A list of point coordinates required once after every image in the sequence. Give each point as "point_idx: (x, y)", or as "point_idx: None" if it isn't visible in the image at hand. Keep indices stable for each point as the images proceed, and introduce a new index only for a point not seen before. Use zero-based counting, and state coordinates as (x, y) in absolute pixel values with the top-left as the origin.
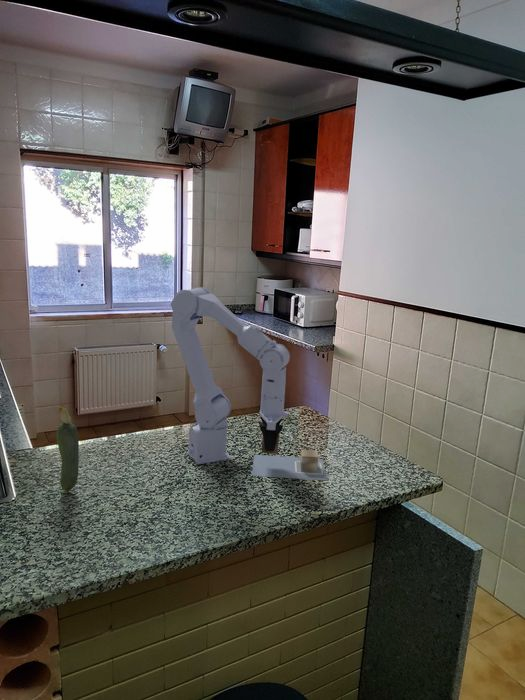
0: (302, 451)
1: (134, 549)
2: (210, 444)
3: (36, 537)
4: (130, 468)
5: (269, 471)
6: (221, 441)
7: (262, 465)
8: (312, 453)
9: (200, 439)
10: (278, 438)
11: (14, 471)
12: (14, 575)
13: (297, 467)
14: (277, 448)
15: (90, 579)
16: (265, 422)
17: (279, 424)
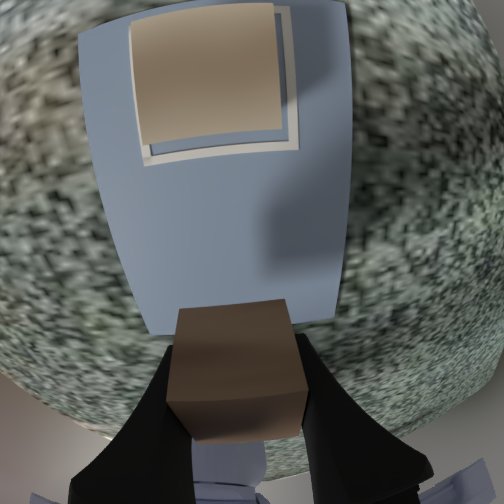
0: (181, 130)
1: (483, 361)
2: (245, 447)
3: (431, 416)
4: (293, 446)
5: (294, 269)
6: (227, 444)
7: (240, 301)
8: (205, 45)
9: (261, 467)
10: (302, 392)
11: (308, 471)
12: (468, 396)
13: (221, 141)
14: (292, 329)
15: (497, 362)
16: (188, 494)
17: (154, 467)
